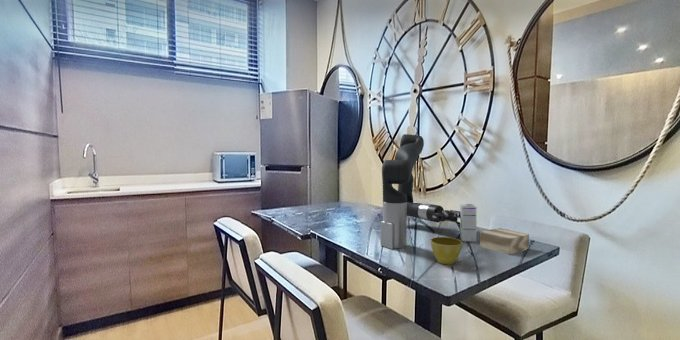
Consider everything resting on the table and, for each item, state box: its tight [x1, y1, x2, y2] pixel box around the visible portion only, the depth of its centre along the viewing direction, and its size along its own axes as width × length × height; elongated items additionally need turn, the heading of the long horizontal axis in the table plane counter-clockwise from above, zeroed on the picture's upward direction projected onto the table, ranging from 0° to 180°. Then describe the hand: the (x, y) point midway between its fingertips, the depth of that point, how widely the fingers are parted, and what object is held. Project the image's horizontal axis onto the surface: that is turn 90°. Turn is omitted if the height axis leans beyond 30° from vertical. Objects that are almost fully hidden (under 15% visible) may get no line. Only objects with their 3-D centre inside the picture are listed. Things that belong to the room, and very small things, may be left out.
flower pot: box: [430, 236, 463, 265], centre depth 116 cm, size 10×10×7 cm
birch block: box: [479, 227, 530, 255], centre depth 132 cm, size 12×12×6 cm
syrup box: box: [459, 203, 478, 243], centre depth 143 cm, size 6×6×14 cm
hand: (462, 218), depth 145 cm, fingers open, 8 cm apart
